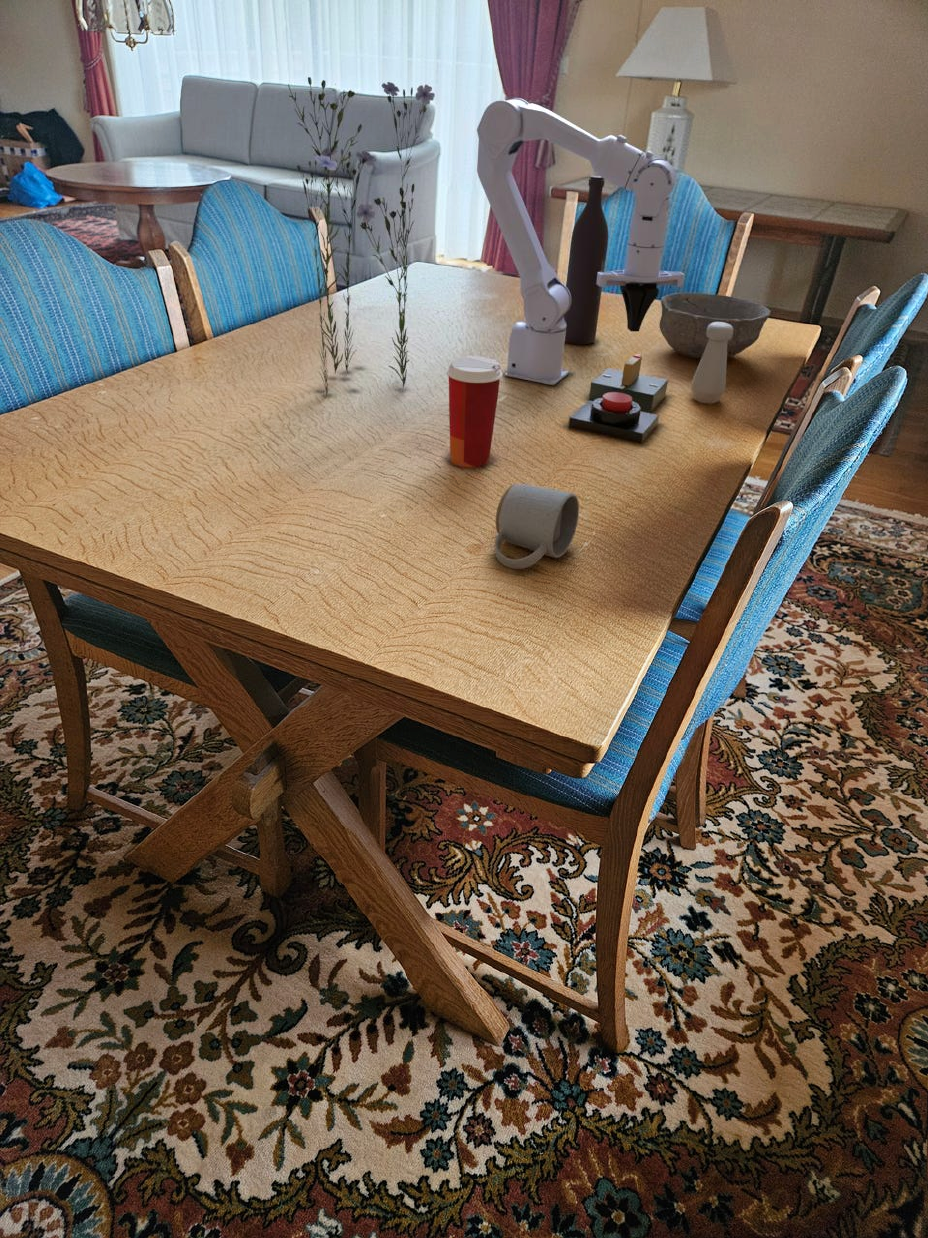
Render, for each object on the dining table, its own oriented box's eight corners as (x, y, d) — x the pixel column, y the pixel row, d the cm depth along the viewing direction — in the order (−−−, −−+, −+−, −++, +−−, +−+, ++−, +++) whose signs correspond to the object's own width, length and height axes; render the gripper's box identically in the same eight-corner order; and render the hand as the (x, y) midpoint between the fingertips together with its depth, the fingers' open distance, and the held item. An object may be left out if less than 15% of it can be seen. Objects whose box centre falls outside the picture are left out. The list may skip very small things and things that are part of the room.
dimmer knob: (629, 385, 145) (632, 363, 143) (621, 384, 145) (624, 361, 143) (638, 376, 149) (642, 354, 147) (631, 375, 149) (634, 353, 147)
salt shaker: (722, 407, 147) (740, 330, 140) (689, 403, 148) (704, 326, 141) (721, 395, 152) (738, 320, 145) (688, 392, 153) (703, 317, 145)
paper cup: (502, 454, 126) (510, 359, 118) (486, 474, 120) (493, 376, 112) (452, 444, 128) (456, 351, 120) (434, 464, 122) (437, 367, 114)
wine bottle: (596, 346, 173) (618, 180, 156) (561, 344, 172) (580, 178, 156) (592, 335, 178) (613, 174, 161) (558, 334, 178) (576, 172, 161)
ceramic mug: (517, 523, 108) (521, 468, 104) (576, 541, 105) (584, 485, 101) (476, 560, 101) (479, 502, 96) (539, 581, 98) (546, 521, 93)
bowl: (770, 354, 174) (783, 303, 168) (739, 380, 159) (752, 326, 153) (673, 334, 182) (682, 285, 177) (635, 357, 168) (644, 305, 162)
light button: (597, 409, 135) (599, 398, 134) (606, 400, 138) (608, 389, 137) (625, 415, 133) (627, 404, 132) (634, 406, 137) (636, 395, 136)
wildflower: (278, 397, 141) (254, 73, 116) (329, 356, 159) (317, 68, 134) (410, 415, 137) (414, 84, 112) (446, 371, 156) (456, 78, 130)
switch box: (568, 427, 136) (570, 406, 134) (587, 410, 143) (589, 389, 141) (641, 443, 132) (645, 422, 130) (657, 425, 139) (661, 404, 137)
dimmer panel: (588, 399, 147) (590, 381, 145) (606, 383, 154) (608, 366, 152) (650, 413, 143) (653, 394, 141) (665, 395, 150) (669, 378, 149)
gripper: (678, 239, 143) (664, 322, 151) (595, 239, 141) (585, 323, 148) (695, 248, 138) (679, 334, 145) (609, 248, 135) (598, 335, 143)
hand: (633, 329), depth 146 cm, fingers closed
